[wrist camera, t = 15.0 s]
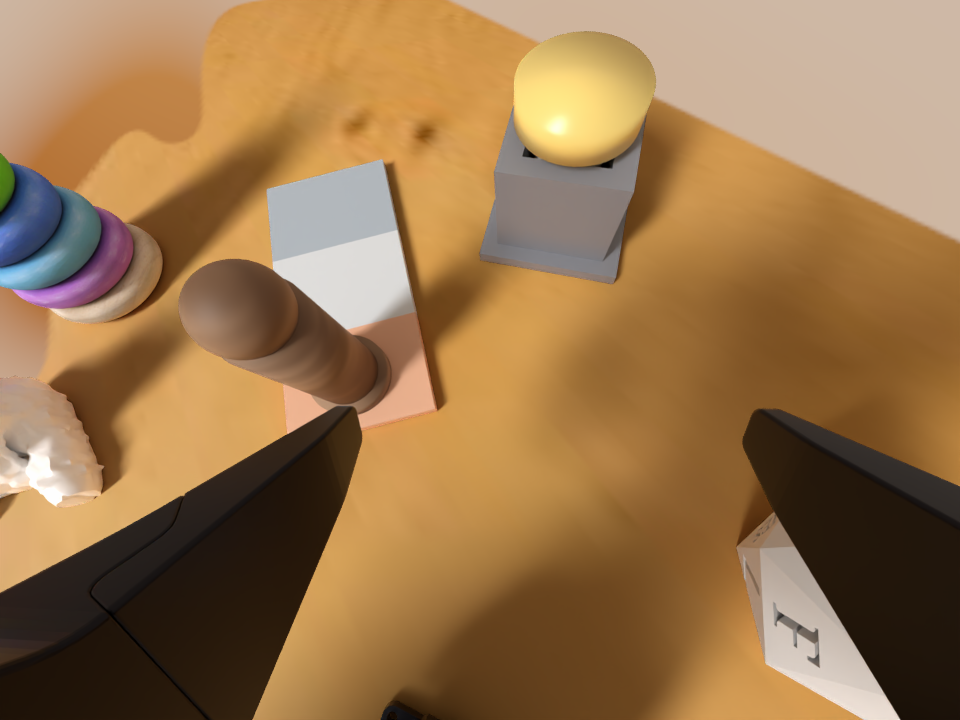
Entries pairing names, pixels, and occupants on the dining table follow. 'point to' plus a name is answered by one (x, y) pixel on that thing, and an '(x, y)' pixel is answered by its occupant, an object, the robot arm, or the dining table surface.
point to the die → (804, 625)
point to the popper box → (559, 212)
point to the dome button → (582, 98)
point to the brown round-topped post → (281, 335)
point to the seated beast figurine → (44, 445)
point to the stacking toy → (71, 250)
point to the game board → (353, 280)
